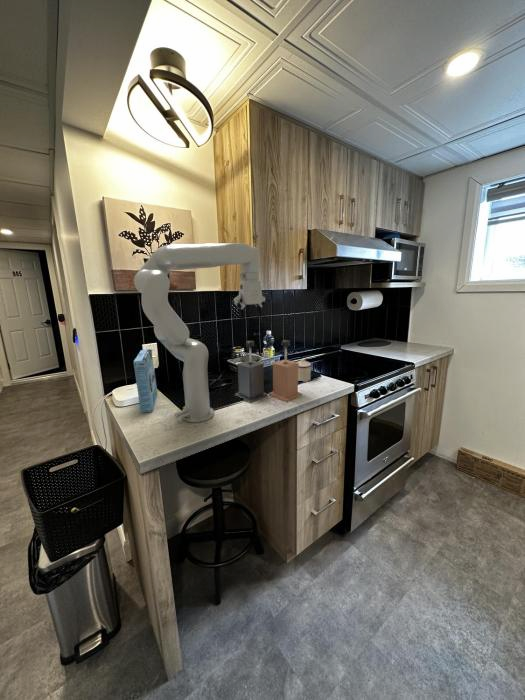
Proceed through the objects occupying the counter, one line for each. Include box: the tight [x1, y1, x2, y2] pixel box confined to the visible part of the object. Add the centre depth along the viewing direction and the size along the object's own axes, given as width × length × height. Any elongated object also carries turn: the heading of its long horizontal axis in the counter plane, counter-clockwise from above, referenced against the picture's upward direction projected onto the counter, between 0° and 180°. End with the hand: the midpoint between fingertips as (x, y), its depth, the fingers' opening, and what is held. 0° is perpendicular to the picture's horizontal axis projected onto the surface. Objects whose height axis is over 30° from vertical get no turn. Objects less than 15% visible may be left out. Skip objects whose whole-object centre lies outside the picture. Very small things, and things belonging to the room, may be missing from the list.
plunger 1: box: [245, 340, 255, 365], centre depth 125 cm, size 7×7×17 cm
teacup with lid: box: [296, 358, 312, 383], centre depth 150 cm, size 12×9×12 cm
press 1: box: [234, 360, 269, 404], centre depth 128 cm, size 11×12×16 cm
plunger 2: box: [281, 339, 291, 364], centre depth 125 cm, size 7×7×17 cm
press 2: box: [268, 359, 303, 403], centre depth 128 cm, size 11×12×16 cm
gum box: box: [133, 348, 158, 414], centre depth 121 cm, size 20×5×23 cm, turn 15°
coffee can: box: [240, 354, 261, 363], centre depth 144 cm, size 10×10×14 cm
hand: (250, 317), depth 121 cm, fingers open, 9 cm apart
